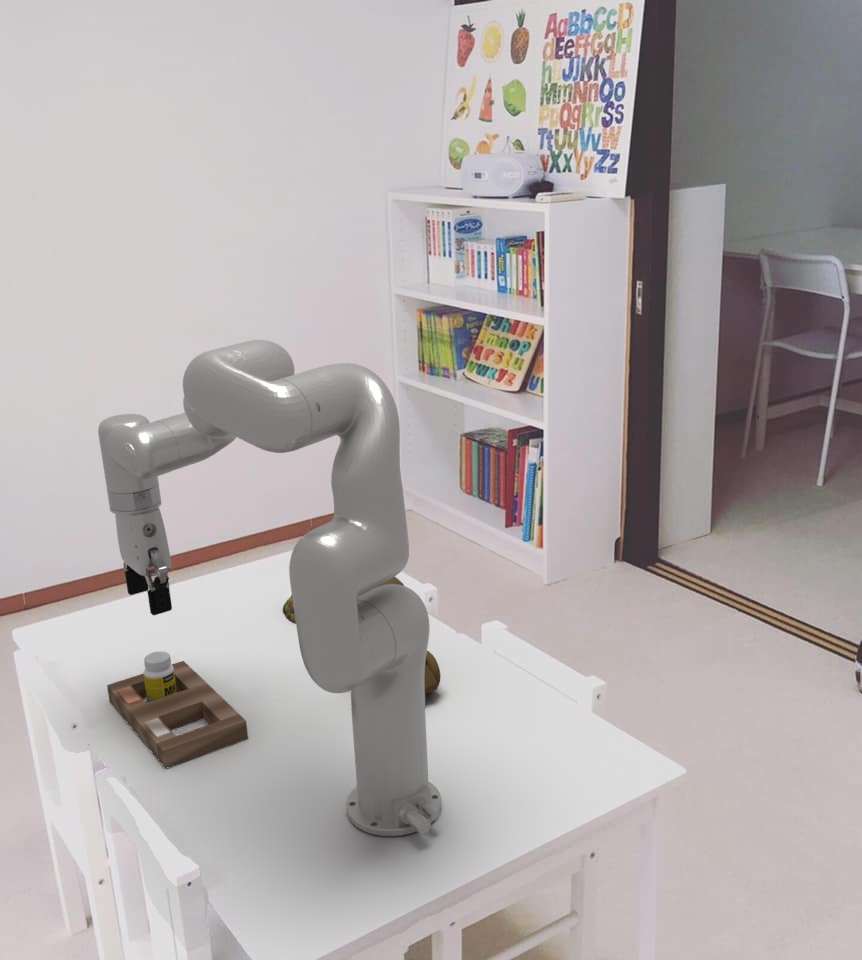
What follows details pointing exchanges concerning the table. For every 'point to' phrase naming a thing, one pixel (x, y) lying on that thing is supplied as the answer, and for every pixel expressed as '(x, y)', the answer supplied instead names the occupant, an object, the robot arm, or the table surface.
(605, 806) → the table surface
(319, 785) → the table surface
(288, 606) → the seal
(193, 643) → the table surface
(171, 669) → the supplement bottle
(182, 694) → the socket block
